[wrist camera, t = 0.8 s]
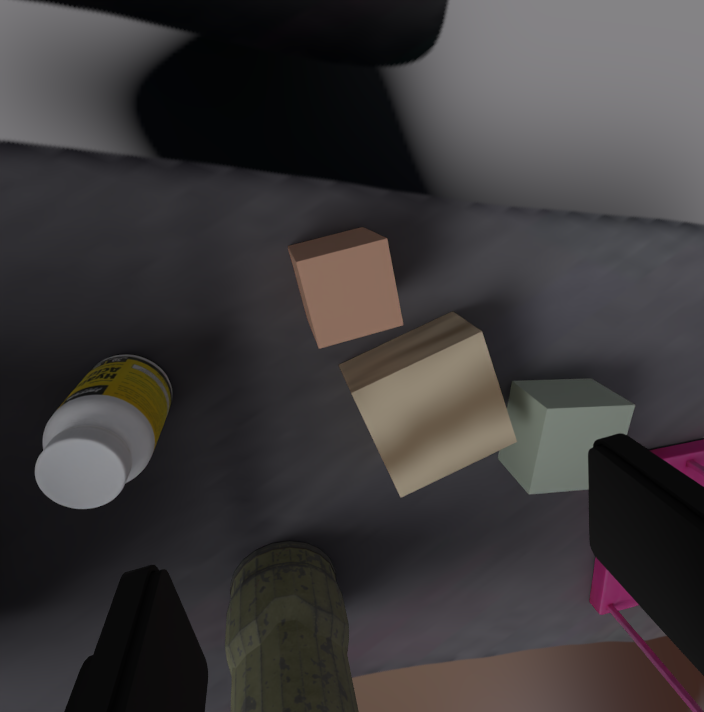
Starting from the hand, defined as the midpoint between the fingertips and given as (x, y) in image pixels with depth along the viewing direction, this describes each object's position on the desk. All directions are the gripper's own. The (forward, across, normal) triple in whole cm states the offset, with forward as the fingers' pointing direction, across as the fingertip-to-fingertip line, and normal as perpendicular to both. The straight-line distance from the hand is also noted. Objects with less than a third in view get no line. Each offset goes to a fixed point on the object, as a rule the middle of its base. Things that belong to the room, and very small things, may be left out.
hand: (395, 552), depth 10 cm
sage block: (+24, -17, +14) cm, 33 cm away
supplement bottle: (+24, +12, +3) cm, 27 cm away
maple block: (+24, -7, +8) cm, 26 cm away
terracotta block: (+23, -2, -2) cm, 24 cm away
